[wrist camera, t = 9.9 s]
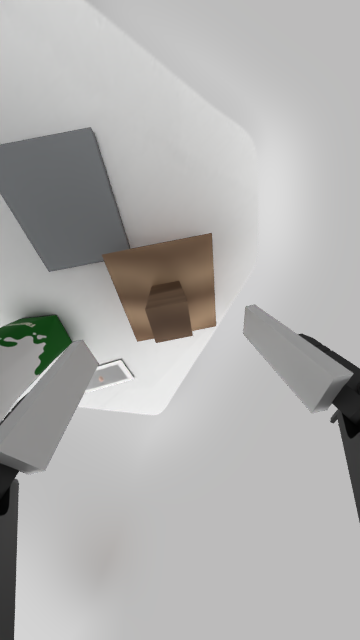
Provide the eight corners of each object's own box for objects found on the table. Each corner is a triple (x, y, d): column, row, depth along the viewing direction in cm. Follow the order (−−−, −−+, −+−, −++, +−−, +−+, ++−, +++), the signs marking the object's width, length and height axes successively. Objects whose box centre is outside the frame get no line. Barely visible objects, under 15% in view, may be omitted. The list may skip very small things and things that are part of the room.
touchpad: (135, 375, 40) (134, 382, 38) (87, 389, 40) (83, 397, 38) (121, 356, 36) (119, 363, 34) (68, 372, 36) (63, 379, 35)
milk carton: (39, 349, 32) (-113, 480, 14) (12, 314, 27) (-257, 442, 10) (78, 344, 32) (-23, 466, 15) (58, 309, 28) (-121, 423, 10)
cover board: (104, 253, 18) (59, 263, 10) (209, 233, 18) (243, 226, 10) (138, 338, 25) (126, 381, 17) (214, 323, 25) (236, 359, 17)
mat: (-17, 154, 17) (-27, 149, 16) (94, 133, 17) (90, 127, 16) (53, 270, 24) (49, 271, 23) (132, 255, 24) (130, 255, 23)
